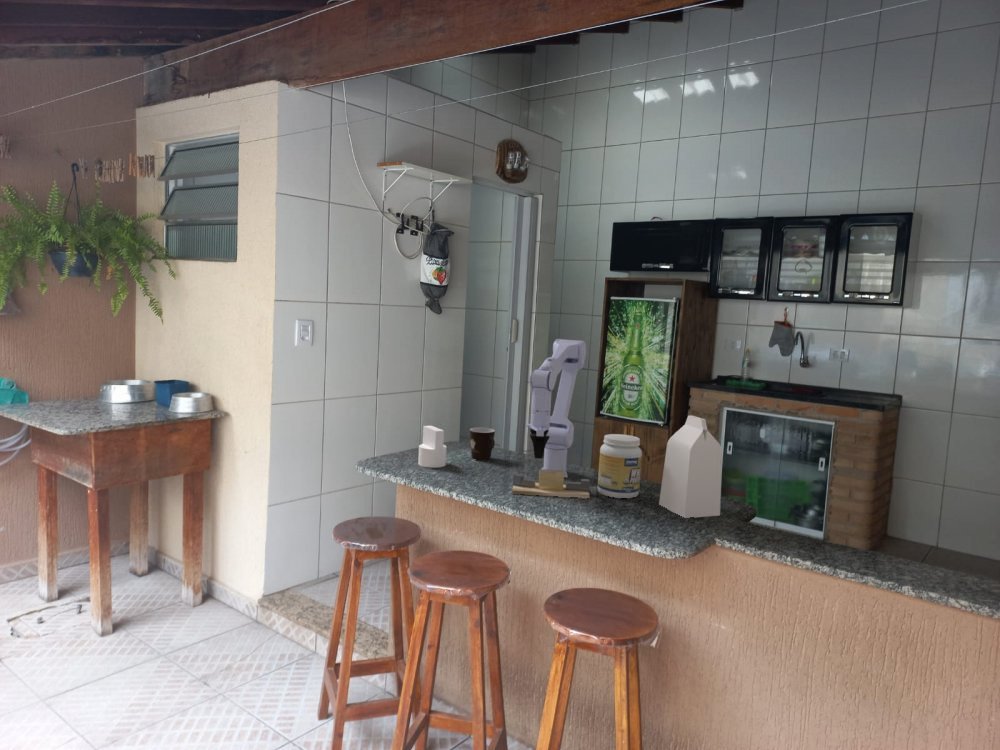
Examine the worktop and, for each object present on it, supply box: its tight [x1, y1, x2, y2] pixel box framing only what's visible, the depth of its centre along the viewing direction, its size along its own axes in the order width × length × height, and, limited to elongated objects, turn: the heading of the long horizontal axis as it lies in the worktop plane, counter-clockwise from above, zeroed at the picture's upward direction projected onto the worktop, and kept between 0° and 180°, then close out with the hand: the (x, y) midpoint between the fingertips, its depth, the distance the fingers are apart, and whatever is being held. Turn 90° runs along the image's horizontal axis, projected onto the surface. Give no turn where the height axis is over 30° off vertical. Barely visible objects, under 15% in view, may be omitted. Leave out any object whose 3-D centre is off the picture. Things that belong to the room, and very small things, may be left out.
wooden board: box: [512, 482, 591, 499], centre depth 203 cm, size 10×22×1 cm, turn 88°
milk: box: [658, 415, 723, 519], centre depth 190 cm, size 12×12×26 cm
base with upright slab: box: [418, 425, 448, 469], centre depth 227 cm, size 9×9×12 cm
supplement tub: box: [597, 433, 643, 499], centre depth 203 cm, size 12×12×17 cm
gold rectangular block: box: [538, 468, 565, 491], centre depth 203 cm, size 4×7×5 cm, turn 88°
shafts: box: [512, 473, 591, 493], centre depth 204 cm, size 4×22×3 cm, turn 88°
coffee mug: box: [469, 427, 496, 461], centre depth 237 cm, size 12×9×10 cm
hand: (538, 455), depth 207 cm, fingers open, 7 cm apart
